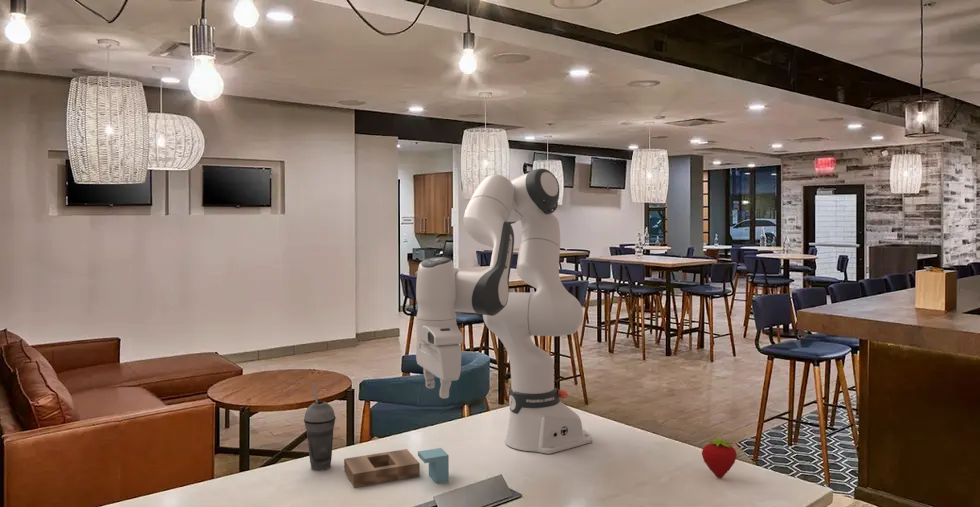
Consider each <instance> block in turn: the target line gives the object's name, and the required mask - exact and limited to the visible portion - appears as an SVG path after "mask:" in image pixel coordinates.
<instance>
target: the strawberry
mask: <svg viewBox="0 0 980 507" xmlns="http://www.w3.org/2000/svg"><path fill="white" fill-rule="evenodd" d="M718 434H719V436H720V437H721V439H720V438H719V437H718V438H716V441H714V440H712V441H711V440H710V441H709V440H708V441H707V443H708V444H706V445H705V446H704V447H703V448H702V450H701V455H702V459H703V462H704V463H705V465H706V466H707V468H708V469H709V471H711V472H712V473H713V475H714V476H715V477H716V478H717V479H722V478H723V477H724V476H725V475H726V474H727V473H729V471H730V469H731V468H732V467H734V466H733V465H735V463H736V461H737V460H736V459H737V456H738V455H737V451H736V449H735V448H734V446H731V445H733V442H729V441H726V440H723V437H722V435H721V433H720V432H718Z"/></svg>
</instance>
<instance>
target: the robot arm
mask: <svg viewBox="0 0 980 507" xmlns="http://www.w3.org/2000/svg"><path fill="white" fill-rule="evenodd" d="M559 184H560V183H559V182H558V179H557V177H556V176H555V175H554V173H552V172H551V171H550V170H548V169H546V168H536V169H533V170H530V171H528V172H527V173H524V174H522V175H519V176H517V177H515V178H513V179H511V180H510V179H508V178H507V177H505V175H501V174H490V175H487V176H486V177H484V178H483V179H482V180H481V182H480V183H479V184H478V186H477V187H476V188H475V190H474V192H473V194H472V195H471V197H470V199H469V202H468V204H467V206H466V208H465V210H464V214H463V217H462V218H463V219H462V223H463V226H464V229H465V231H466V232H467V233H468V235H469V236H470V237H471V238H472V239H473V240H474V241H476V242H477V243H479V244H481V245H483V246H488V247H489V248H492V253H491V258H490V264H489V267H488V268H486V269H484V270H479V271H478V270H476V271H475V270H474V271H473V270H460V269H458V268H456V267H455V266H454V262H453V260H452V259H451V258H449V257H444V256H437V257H429V258H426V259H425V258H424V259H423V260H422V261H421V262H420V263H419V265H418V268H417V275H416V283H415V284H416V285H415V286H416V287H415V298H416V299H415V300H416V304H417V312H416V327H415V328H416V346H415V347H416V348H415V352H416V353H415V358H416V364H417V365H418V366H420V367H421V368H422V369H423V371H422V372H423V376H424V379H425V387H426V388H427V389H429V390H431V389H434V388H435V387H436V381H435V377H437V378H438V379H439V382H440V388H439V390H438V396H439V398H441V399H442V400H443V399H448V398H449V397H450V389H451V385H452V381H458V380H459V379H460V378H461V372H462V371H461V370H462V348H461V344H463V343H464V336H463V333H462V332H461V330H460V328H459V326H458V324H457V313H456V312H458V313H468V314H469V313H471V314H479V315H482V318H483V322H484V325H485V326H486V328H487V329H488V330H489V331H490V332H491V333H493V334H494V335H495V336H496V337H497V338H498V339H499V340H500V342H501V343H502V344H503V347H504V348H505V350H506V353H507V355H508V359H509V366H510V384H511V385H510V388H509V396H508V397H509V399H508V400H509V401H508V402H509V411H510V413H509V422H508V429H507V433H506V436H505V440H504V442H505V444H506V445H507V446H508V447H510V448H512V449H515V450H518V451H525V452H534V453H535V452H536V453H542V454H549V455H550V454H553V453H557V452H561V451H562V452H563V451H565V450H569V449H572V448H575V447H579V446H583V445H586V444H590V443H592V436H591V435H590V433H588V432H587V431H586V430H584V429H583V423H582V419H581V418H580V416H579V415H578V413H576V412H575V411H574V410H572V409H571V408H570V407H568V405H566V404H564V403H563V402H562V401H561V399H564V400H565V399H566V398H567V397H568V396H569V395H568V394H569V393H568V392H567V391H566V390H564V389H559V388H557V387H555V362H554V359H553V357H552V356H551V354H550V353H548V351H546V350H544V349H542V348H540V347H538V346H537V345H536V344H535V343H534V341H533V340H532V338H531V337H532V336H541V337H562V336H568V335H573V334H575V333H577V331H578V330H579V329H580V327H581V326H582V323H583V318H584V312H583V308H582V305H581V303H580V301H579V300H578V298H576V297H575V296H574V295H573V294H572V293H571V292H569V291H568V290H567V289H566V287H565V286H564V284H563V283H562V280H561V277H560V251H561V229H560V221H559V220H558V218H557V217H556V215H555V214H554V212H555V211H556V210H557V209H558V205H559V199H560V185H559ZM519 221H520V222H521V223H520V224H521V229H522V231H521V235H520V240H519V246H518V254H517V261H516V262H517V264H516V273H517V276H518V277H519V279H520V280H522V282H524V283H525V284H527V285H528V286H531V287H533V288H534V289H536V291H534V292H519V291H515V292H513V291H510V290H509V289H510V288H509V287H510V286H509V285H510V276H511V268H512V263H513V262H512V261H513V254H514V247H515V233H514V228H513V226H512V224H516V223H517V222H519ZM434 376H435V377H434ZM560 398H561V399H560Z"/></svg>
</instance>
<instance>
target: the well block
mask: <svg viewBox="0 0 980 507" xmlns="http://www.w3.org/2000/svg"><path fill="white" fill-rule="evenodd" d="M343 465H344V466H343V470H344V471H343V472H344V473H345V475H346V476H347V479H348V480H349V482H350V484H351V486H352V487H353V488H359V487H365V486H371V485H377V484H381V483H388V482H394V481H401V480H405V479H411V478H417V477H420V476H421V475H420V474H421V473H420V471H421V470H420V465H421V464H420V462H419V461H418V460H417V459H416V457H415V456H413V454H412V453H411V452H410V451H409V449H407V448H403V449H398V450H397V449H396V450H391V451H386V452H385V451H384V452H379V453H378V452H377V453H373V454H366V455H361V456H353V457H346V458H343Z"/></svg>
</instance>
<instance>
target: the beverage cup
mask: <svg viewBox="0 0 980 507" xmlns="http://www.w3.org/2000/svg"><path fill="white" fill-rule="evenodd" d="M316 386H317V384H316V382H313V392H314V399H315V400H314V401H315V402H312V403H311V404H310V405H309V406H308V407H307V409H306V411H305V412H304V413H305V414H304V419H303V422H304V426H305V427H304V428H305V430H306V437H307V446H308V455H309V463H310V468H311V470H312V471H315V472H319V471H320V472H321V471H322V472H323V471H327V470H329V469H330V468H331V466H332V464H331V463H332V455H333V443H334V442H333V441H334V440H333V439H334V427H335V423H336V415H335V411H334V408H333V407H332V405H330V404H329V403H328V402H325V401H323V400H322V401H321V400H318V392H317V387H316Z"/></svg>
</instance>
